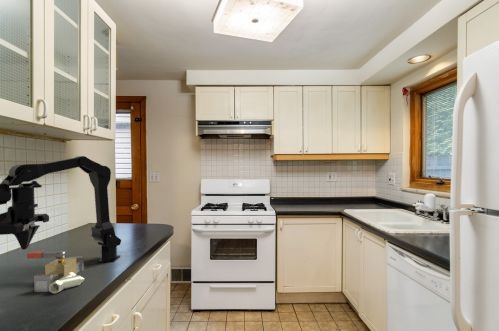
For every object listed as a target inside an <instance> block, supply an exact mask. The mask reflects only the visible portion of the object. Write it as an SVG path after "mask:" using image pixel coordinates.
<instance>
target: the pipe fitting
mask: <svg viewBox="0 0 499 331" xmlns="http://www.w3.org/2000/svg"><path fill="white" fill-rule="evenodd" d="M84 281H85V278H84V277H83V276H81V275H80V274H79V275H76V274H75V273H73V272H70V273H68V274H66V275H64V277H62V278H60V279H59V280H57V281H55V282H53V283H51V284H50V285H49V291H50V292H49V293H52V294H57V293H60V292H61V291H63V290H66V289H71V288H74V287H77V286H81V283H83V282H84Z"/></svg>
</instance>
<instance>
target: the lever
mask: <svg viewBox="0 0 499 331" xmlns="http://www.w3.org/2000/svg"><path fill="white" fill-rule="evenodd" d="M67 253H68V252H67V250H65V249H64V250H59V251H56V250H55V251H46V250H43V251H42V250H39V251H38V250H37V251H36V250H35V251H29V252H27V253H26V258H27V259H28V260H29V259H45V258H46V259H47V258H52V259H53V258H55V260H56V259H59V258H67V256H68V254H67Z"/></svg>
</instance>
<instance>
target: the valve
mask: <svg viewBox="0 0 499 331" xmlns="http://www.w3.org/2000/svg"><path fill="white" fill-rule="evenodd" d="M44 267H45V268H44V274H36V275H34V276H33V282H34V284H33V285H34V286H33V287H34V290H33V292H34V293H48V292H49V293H51V292H50V291H49V285H50V284H51V283H53V282H55V281H57V280H59V279H60V278H62V277H64V275H66V274H68V273H70V272H73V273H75V274H76V275H77V274H78V273H79V272H82V271H84V270H85V257H84V256H69V257H64V258H59V259H56V258H55V260H52V261H51V262H48V263H46V264H44Z"/></svg>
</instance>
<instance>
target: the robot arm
mask: <svg viewBox="0 0 499 331" xmlns="http://www.w3.org/2000/svg"><path fill="white" fill-rule="evenodd" d="M77 168H79V169H80V170H81V171H83V172H84V173H86V174H87V175H88V178H89V181H90V183H91V185H92V187H93V191H94V202H95V216H96V223H95V224H94V226H91V237H92V238H93V240H94V241H95V242H97V244H98V246H101V248H100V249H101V251H100V252H101V258H100V259H99V260H97V262H98V263H113V262H115V261H117V260H118V259H119V258H121V255H119V254H118V246H120V245H121V242H122V239H121V238H119V237H118V236H117V235H116V232H115V228H114V226H113V223H112V222H111V220H110V205H109V190H108V186H109V184H110V182H111V178H112V177H111V176H112V171H111V168H110V167H108V166H106V165H103V164H100V163H98V162H96V161H94V160H92V159H90V158H89V157H86V156H85V155H79V156H77V155H76V156H75V157H73V158H72V157H70V158H65V159H60V160H55V161H49V162H45V163H26V164H25V163H24V164H23V163H21V164H19V163H18V164H15V165H12V166H11V167H10V169H9V170H8V175H6V177H5V178H4V179H3V180H2V181H1V182H0V205H1V206H2V205H6V204H7V203H8V202H10V201H11V205H9V206H8V207H7V211H5V212H2V213H0V235H1V236H2V235H13V236H14V237H15V238H16V240H17V242H18V244H19V246H20V248H21V250H27V249H28V248H29V246H30V244H31V242H32V240H33V238H34V236H35V234H36V233H37V231H38V229H39V228H41V226H40V225H36V223H37V222H42V223H47V222H50V216H49V214H48V213H36V210H35V209H36V208H38V207H39V206H38V203H36V202H35V201H36V200H35V189H39V188H42V187H43V186H42V184H40V183H39V182H37V180H36V179H40V178H41V177H44V176H46V175H48V174H53V173H57V172H62V171H67V170H71V169H77Z"/></svg>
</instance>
